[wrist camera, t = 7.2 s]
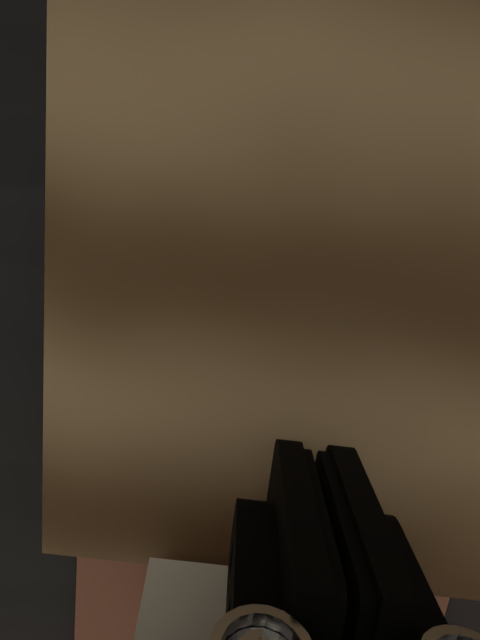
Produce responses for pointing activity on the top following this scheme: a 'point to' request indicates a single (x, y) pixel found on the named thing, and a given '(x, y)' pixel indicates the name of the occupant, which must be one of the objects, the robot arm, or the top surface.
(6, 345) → the top surface
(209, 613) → the cream block
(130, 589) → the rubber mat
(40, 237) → the top surface
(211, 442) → the oak board
